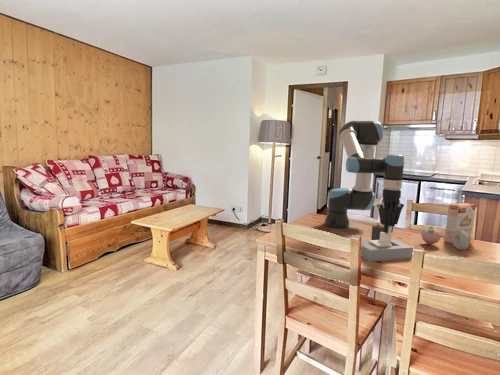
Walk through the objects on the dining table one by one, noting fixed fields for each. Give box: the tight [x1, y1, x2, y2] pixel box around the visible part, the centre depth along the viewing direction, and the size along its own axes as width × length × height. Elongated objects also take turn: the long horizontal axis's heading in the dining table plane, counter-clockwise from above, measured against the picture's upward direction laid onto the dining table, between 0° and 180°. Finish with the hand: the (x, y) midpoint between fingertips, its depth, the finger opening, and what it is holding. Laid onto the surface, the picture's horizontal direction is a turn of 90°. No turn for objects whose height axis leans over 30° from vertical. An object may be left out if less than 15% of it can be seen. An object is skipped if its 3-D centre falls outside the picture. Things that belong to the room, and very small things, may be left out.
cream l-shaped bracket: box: [368, 232, 392, 247], centre depth 137 cm, size 7×7×5 cm
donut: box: [453, 230, 470, 251], centre depth 148 cm, size 10×4×10 cm, turn 174°
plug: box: [370, 221, 385, 240], centre depth 151 cm, size 4×4×12 cm
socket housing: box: [361, 238, 414, 262], centre depth 138 cm, size 12×22×5 cm, turn 104°
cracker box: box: [443, 202, 477, 246], centre depth 159 cm, size 14×6×21 cm, turn 114°
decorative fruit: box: [421, 225, 441, 246], centre depth 154 cm, size 9×8×10 cm
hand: (387, 239), depth 138 cm, fingers closed
